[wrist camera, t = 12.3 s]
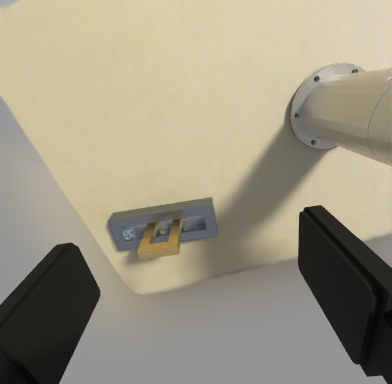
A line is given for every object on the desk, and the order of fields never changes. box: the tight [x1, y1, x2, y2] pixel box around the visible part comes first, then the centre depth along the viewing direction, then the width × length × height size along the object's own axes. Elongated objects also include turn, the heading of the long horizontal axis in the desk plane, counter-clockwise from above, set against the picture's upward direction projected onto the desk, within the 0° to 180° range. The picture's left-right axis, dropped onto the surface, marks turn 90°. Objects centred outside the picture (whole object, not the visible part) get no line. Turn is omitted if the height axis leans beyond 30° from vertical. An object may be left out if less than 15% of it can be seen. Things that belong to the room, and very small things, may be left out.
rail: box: [108, 197, 218, 250], centre depth 43 cm, size 20×7×3 cm, turn 100°
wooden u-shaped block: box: [137, 219, 183, 260], centre depth 39 cm, size 7×2×9 cm, turn 100°
